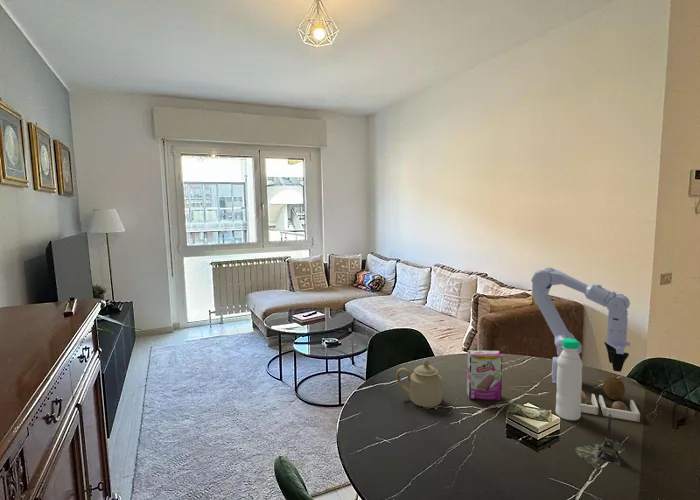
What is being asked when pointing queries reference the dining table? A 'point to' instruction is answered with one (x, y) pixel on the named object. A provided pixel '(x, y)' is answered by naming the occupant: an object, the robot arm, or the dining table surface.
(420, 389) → the sugar bowl
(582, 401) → the walnut ball
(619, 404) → the walnut ball
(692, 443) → the dining table surface
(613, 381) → the fruit
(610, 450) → the eiffel tower figurine
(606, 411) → the trough right
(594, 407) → the trough left
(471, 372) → the candy bar box
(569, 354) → the water bottle
